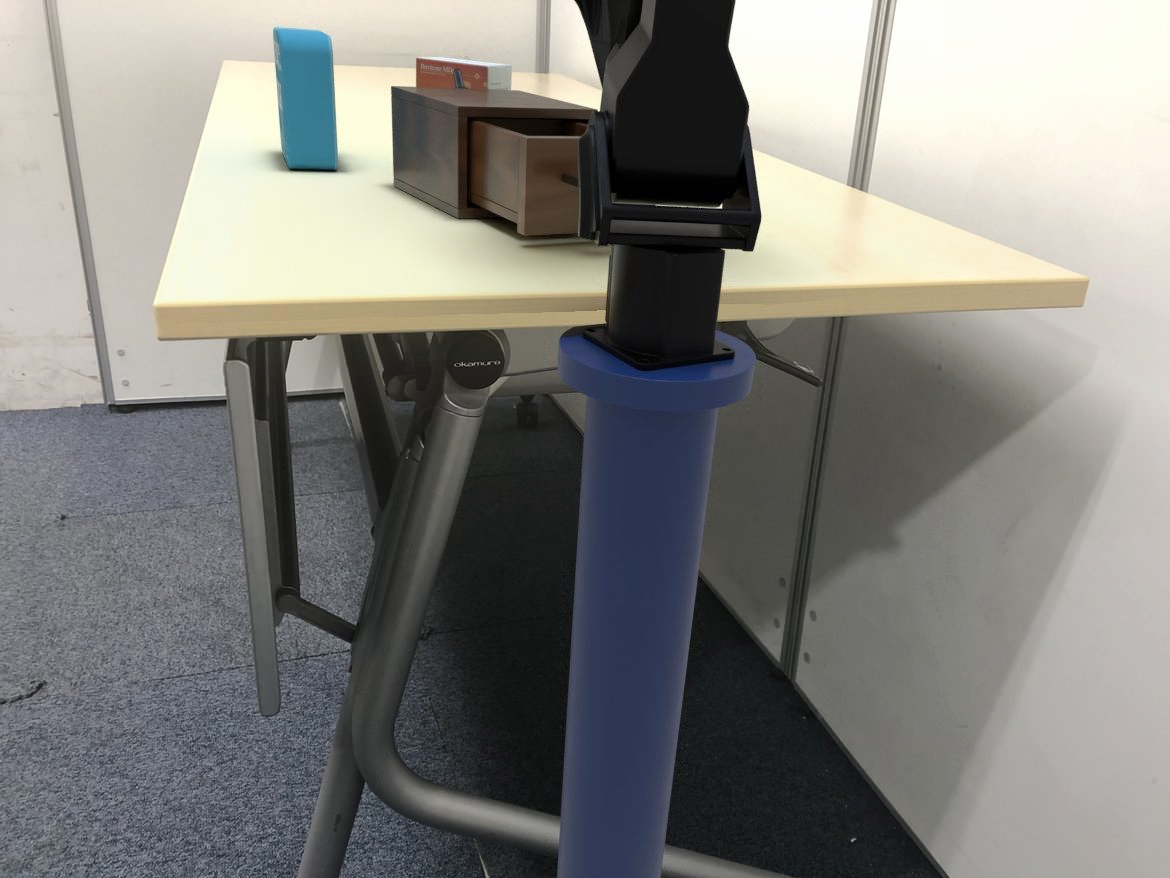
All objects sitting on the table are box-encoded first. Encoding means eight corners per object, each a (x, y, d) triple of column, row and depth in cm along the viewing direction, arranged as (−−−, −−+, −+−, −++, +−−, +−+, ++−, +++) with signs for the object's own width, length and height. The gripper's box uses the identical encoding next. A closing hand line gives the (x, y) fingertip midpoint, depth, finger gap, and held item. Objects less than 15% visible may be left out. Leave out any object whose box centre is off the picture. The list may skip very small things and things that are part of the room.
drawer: (684, 241, 74) (693, 147, 71) (551, 249, 68) (555, 147, 65) (569, 196, 87) (573, 116, 84) (450, 200, 81) (449, 113, 78)
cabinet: (591, 213, 86) (598, 109, 82) (457, 218, 79) (458, 106, 76) (516, 183, 97) (519, 90, 93) (393, 186, 90) (390, 85, 86)
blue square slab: (281, 152, 102) (272, 25, 97) (326, 153, 104) (319, 29, 99) (289, 171, 92) (279, 32, 87) (339, 172, 94) (332, 36, 89)
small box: (414, 168, 100) (412, 56, 95) (441, 162, 104) (441, 55, 100) (486, 178, 98) (487, 64, 93) (510, 172, 102) (512, 63, 98)
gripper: (675, -139, 73) (657, 85, 80) (439, -184, 63) (441, 76, 70) (771, -150, 65) (742, 101, 71) (517, -203, 55) (510, 94, 62)
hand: (611, 93), depth 69 cm, fingers closed
